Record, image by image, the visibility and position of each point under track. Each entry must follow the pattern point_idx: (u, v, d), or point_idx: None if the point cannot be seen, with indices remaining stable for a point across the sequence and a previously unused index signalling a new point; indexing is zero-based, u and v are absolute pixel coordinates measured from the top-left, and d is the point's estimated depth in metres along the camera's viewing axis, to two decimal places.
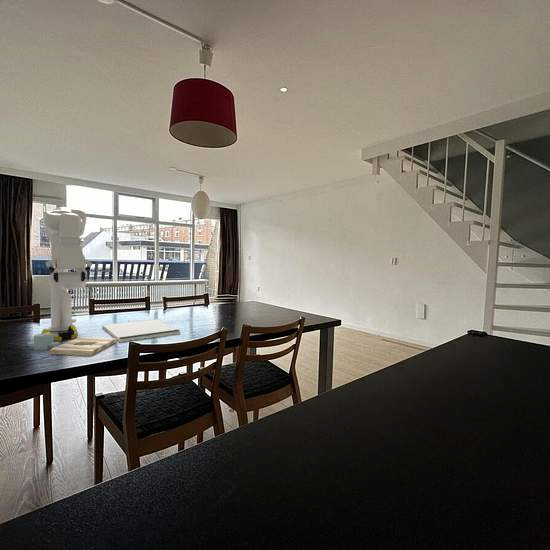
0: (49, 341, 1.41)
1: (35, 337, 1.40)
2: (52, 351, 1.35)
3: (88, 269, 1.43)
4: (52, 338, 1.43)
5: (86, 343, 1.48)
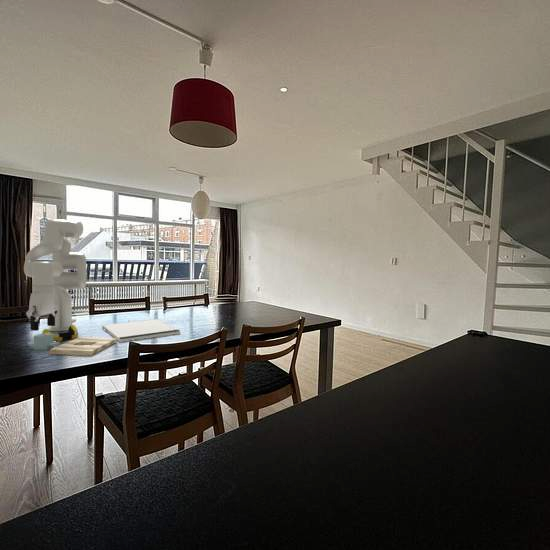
0: (49, 341, 1.41)
1: (35, 337, 1.40)
2: (52, 351, 1.35)
3: (56, 313, 1.48)
4: (52, 338, 1.43)
5: (86, 343, 1.48)
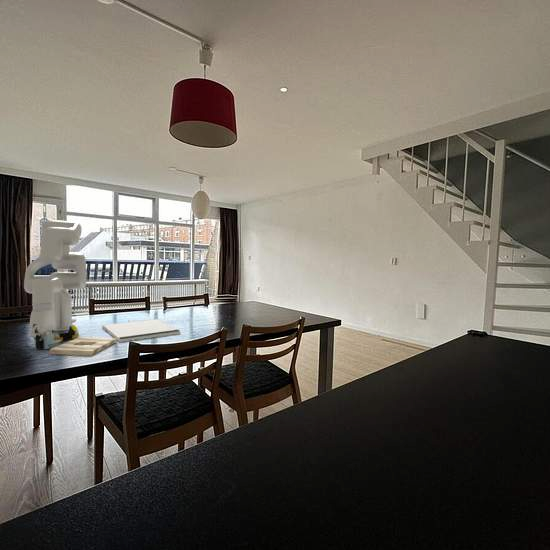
0: (50, 340, 1.41)
1: None
2: (52, 351, 1.35)
3: None
4: (52, 337, 1.43)
5: (86, 343, 1.48)
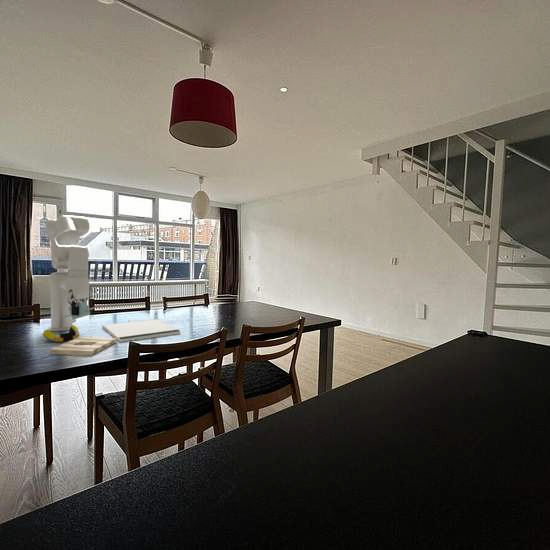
0: (84, 308, 1.42)
1: (70, 307, 1.41)
2: (52, 351, 1.35)
3: (86, 301, 1.47)
4: (86, 305, 1.44)
5: (86, 343, 1.48)
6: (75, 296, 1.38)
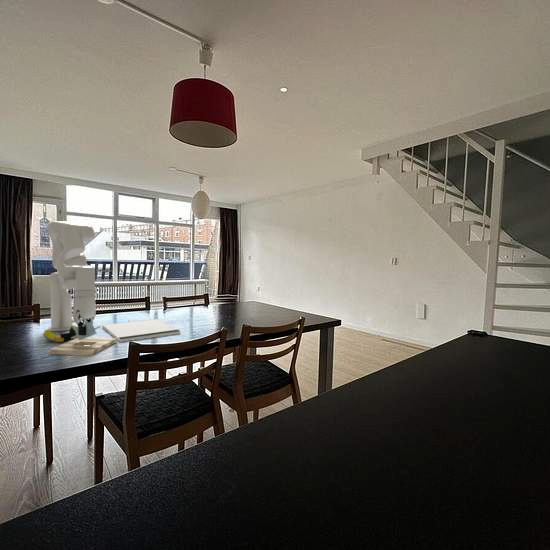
0: (90, 328, 1.43)
1: (76, 328, 1.42)
2: (52, 351, 1.35)
3: None
4: (92, 325, 1.45)
5: (86, 343, 1.48)
6: (82, 316, 1.39)
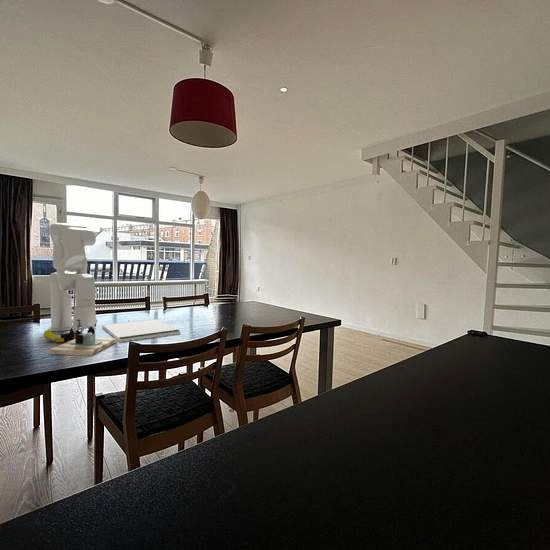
0: (92, 341, 1.44)
1: None
2: (52, 351, 1.35)
3: (95, 326, 1.50)
4: (94, 338, 1.45)
5: None
6: (82, 326, 1.39)
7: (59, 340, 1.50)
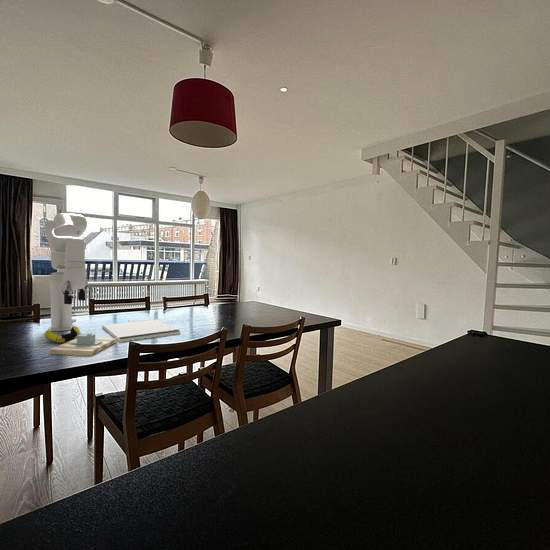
0: (92, 341, 1.44)
1: (78, 337, 1.42)
2: (52, 351, 1.35)
3: None
4: (94, 338, 1.45)
5: None
6: (72, 287, 1.40)
7: (60, 340, 1.50)
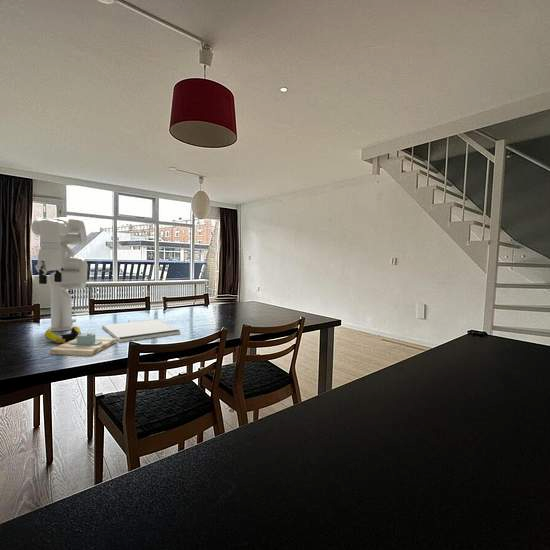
0: (92, 341, 1.44)
1: (78, 337, 1.42)
2: (52, 351, 1.35)
3: (62, 270, 1.57)
4: (94, 338, 1.45)
5: None
6: (46, 267, 1.45)
7: (60, 341, 1.49)
